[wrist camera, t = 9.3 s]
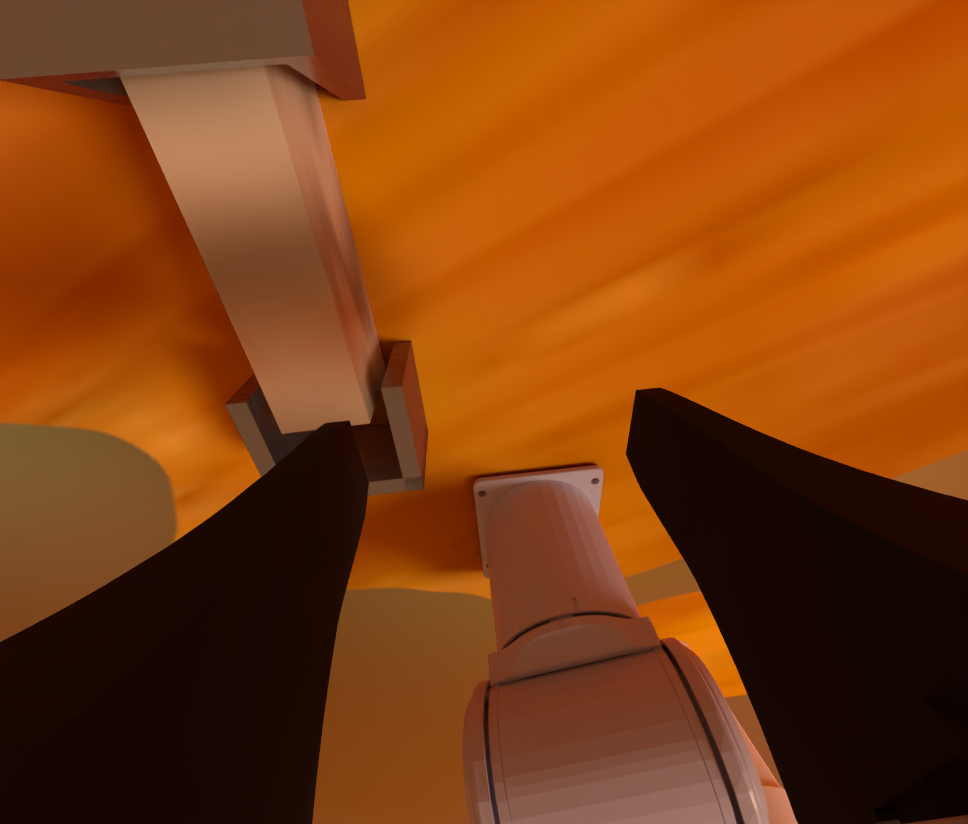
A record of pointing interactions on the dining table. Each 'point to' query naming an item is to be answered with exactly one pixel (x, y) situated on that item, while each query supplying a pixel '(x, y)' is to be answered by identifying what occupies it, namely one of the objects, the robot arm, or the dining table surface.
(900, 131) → the dining table surface
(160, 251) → the dining table surface
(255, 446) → the open end cap
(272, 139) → the light brown long block
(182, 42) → the grey rectangular block
